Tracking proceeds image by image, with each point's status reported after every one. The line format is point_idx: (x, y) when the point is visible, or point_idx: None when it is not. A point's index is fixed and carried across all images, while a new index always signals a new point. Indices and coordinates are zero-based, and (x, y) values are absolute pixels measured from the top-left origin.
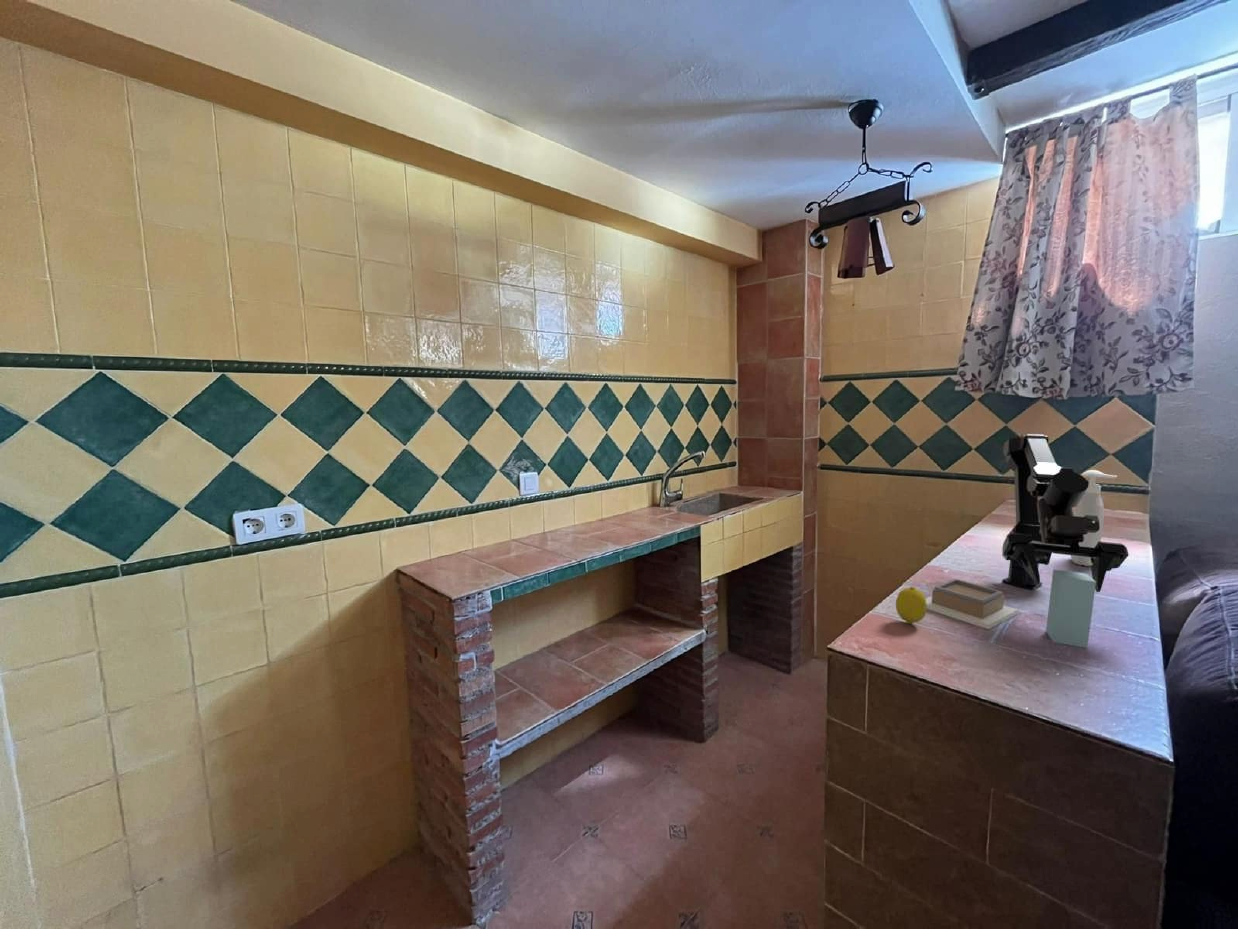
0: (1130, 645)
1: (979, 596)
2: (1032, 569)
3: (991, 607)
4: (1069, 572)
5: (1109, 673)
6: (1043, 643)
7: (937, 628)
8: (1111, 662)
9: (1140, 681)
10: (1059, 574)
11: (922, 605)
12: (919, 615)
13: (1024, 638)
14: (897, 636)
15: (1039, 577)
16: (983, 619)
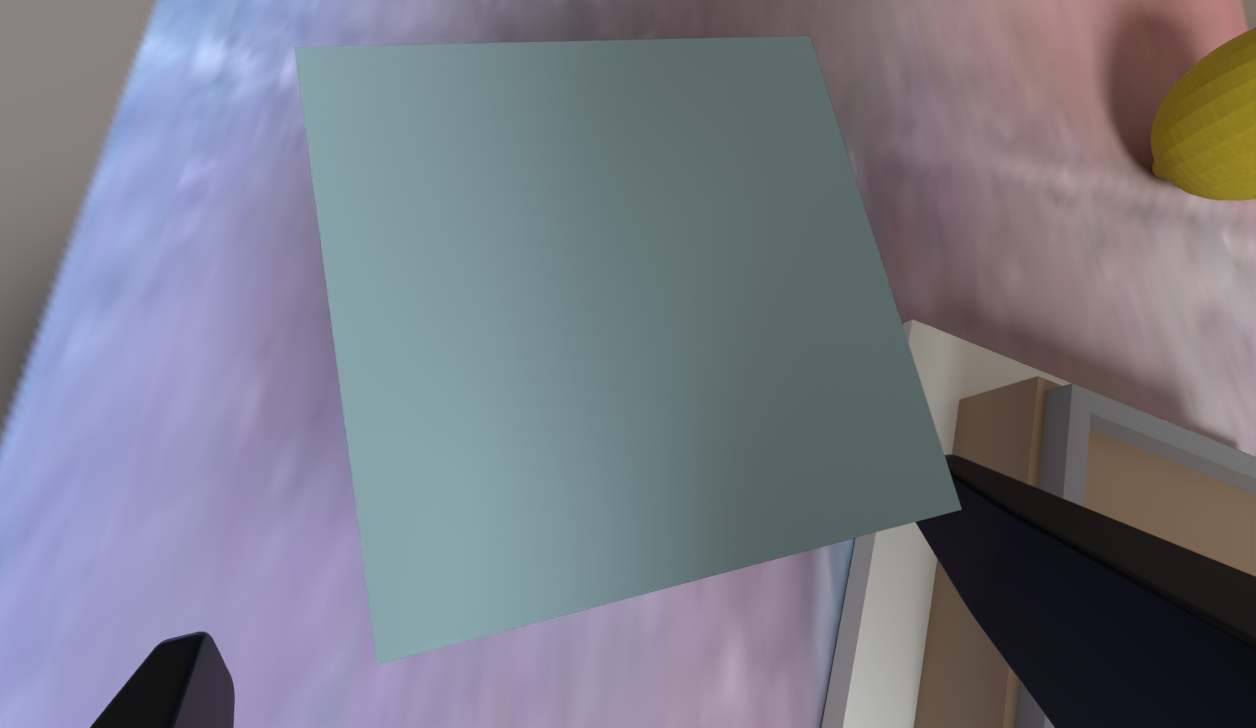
0: (75, 680)
1: None
2: (1162, 542)
3: None
4: (708, 482)
5: None
6: None
7: (1063, 190)
8: (307, 230)
9: (214, 46)
10: (845, 192)
11: (1244, 43)
12: (1185, 74)
13: None
14: (1130, 13)
15: (979, 490)
16: (953, 393)
